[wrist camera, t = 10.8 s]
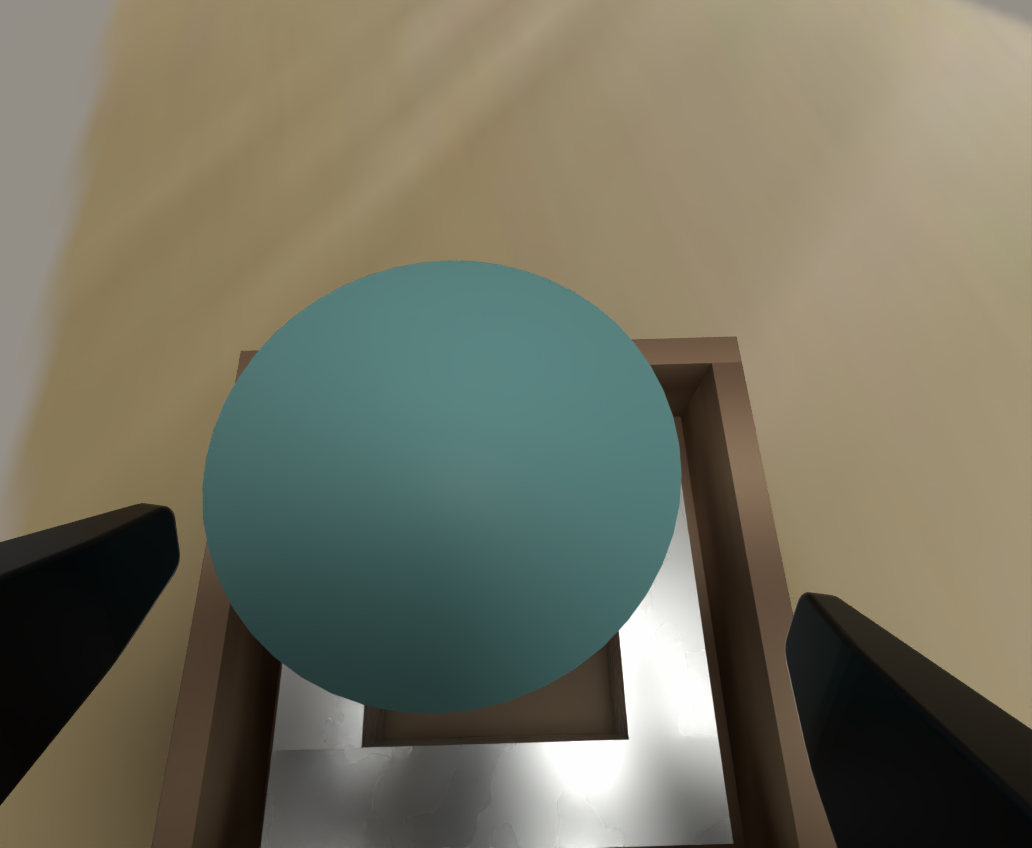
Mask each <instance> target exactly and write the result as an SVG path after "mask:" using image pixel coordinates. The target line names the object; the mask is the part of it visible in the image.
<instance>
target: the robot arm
mask: <svg viewBox="0 0 1032 848" xmlns="http://www.w3.org/2000/svg"><path fill="white" fill-rule="evenodd" d="M179 560H180V551H179V544H178V536H177V529H176V522H175V516H174V513H173V511H172V510H171V509H170V508H169V507H166V506H161V505H153V504H146V503H140V504H136V505H132V506H129V507H125V508H121V509H118V510H114V511H111V512H107V513H104V514H100V515H96V516H93V517H89V518H86V519H82V520H78V521H75V522H71V523H68V524H64V525H60V526H57V527H53V528H50V529H46V530H42V531H39V532H35V533H32V534H28V535H25V536H21V537H17V538H14V539H10V540H7V541H3V542H0V805H1V804H2V803H3V802H4V800H5V799H6V798H7V797H8V795H9V794H10V793H11V792H12V790H13V789H14V788H15V787H16V785H17V784H18V783H19V782H20V781H21V779H22V778H23V777H24V776H25V774H26V773H27V772H28V771H29V769H30V768H31V767H32V766H33V764H34V763H35V762H36V761H37V759H38V758H39V757H40V756H41V754H42V753H43V752H44V751H45V749H46V748H47V747H48V746H49V745H50V743H51V742H52V741H53V740H54V738H55V737H56V736H57V735H58V733H59V732H60V731H61V730H62V728H63V727H64V726H65V725H66V723H67V722H68V721H69V720H70V718H71V717H72V716H73V715H74V713H75V712H76V711H77V710H78V709H79V707H80V706H81V705H82V704H83V702H84V701H85V700H86V699H87V697H88V696H89V695H90V694H91V692H92V691H93V690H94V689H95V687H96V686H97V685H98V684H99V682H100V681H101V680H102V679H103V677H104V676H105V675H106V674H107V672H108V671H109V670H110V668H111V667H112V666H113V665H114V663H115V662H116V661H117V659H118V658H119V656H120V655H121V653H122V652H123V651H124V649H125V648H126V646H127V645H128V643H129V642H130V640H131V639H132V637H133V636H134V634H135V633H136V631H137V630H138V628H139V627H140V625H141V624H142V622H143V621H144V619H145V618H146V616H147V615H148V613H149V612H150V610H151V609H152V607H153V605H154V604H155V602H156V601H157V599H158V598H159V596H160V595H161V593H162V592H163V590H164V589H165V587H166V586H167V584H168V583H169V581H170V580H171V578H172V577H173V575H174V574H175V572H176V570H177V567H178V565H179ZM785 657H786V662H787V667H788V671H789V676H790V680H791V685H792V689H793V694H794V698H795V703H796V707H797V712H798V716H799V721H800V725H801V730H802V734H803V739H804V744H805V748H806V752H807V756H808V760H809V764H810V768H811V771H812V774H813V777H814V780H815V784H816V787H817V790H818V793H819V796H820V799H821V802H822V805H823V808H824V810H825V813H826V816H827V819H828V822H829V825H830V828H831V831H832V834H833V837H834V840H835V843H836V846H837V848H1032V729H1030V728H1029V727H1027V726H1026V725H1024V724H1023V723H1021V722H1020V721H1019V720H1017V719H1016V718H1014V717H1013V716H1011V715H1010V714H1008V713H1007V712H1005V711H1004V710H1002V709H1001V708H999V707H998V706H997V705H995V704H994V703H992V702H991V701H989V700H988V699H986V698H985V697H983V696H982V695H980V694H979V693H977V692H976V691H974V690H973V689H972V688H970V687H969V686H967V685H966V684H964V683H963V682H961V681H960V680H958V679H957V678H955V677H954V676H952V675H951V674H950V673H948V672H947V671H945V670H944V669H942V668H941V667H939V666H938V665H936V664H935V663H933V662H932V661H930V660H929V659H928V658H926V657H925V656H923V655H922V654H920V653H919V652H917V651H916V650H914V649H913V648H911V647H910V646H908V645H907V644H906V643H904V642H903V641H901V640H900V639H898V638H897V637H895V636H894V635H892V634H891V633H889V632H888V631H886V630H885V629H883V628H882V627H881V626H879V625H878V624H876V623H875V622H873V621H872V620H870V619H869V618H867V617H866V616H864V615H863V614H861V613H860V612H859V611H857V610H856V609H854V608H853V607H851V606H850V605H848V604H847V603H845V602H844V601H842V600H841V599H839V598H838V597H836V596H833V595H827V594H819V593H811V592H806V593H804V594H803V595H801V597H800V598H799V600H798V603H797V606H796V609H795V612H794V615H793V619H792V622H791V625H790V628H789V631H788V635H787V638H786V643H785Z"/></svg>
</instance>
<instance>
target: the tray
mask: <svg viewBox="0 0 1032 848" xmlns="http://www.w3.org/2000/svg"><path fill="white" fill-rule="evenodd" d="M632 341H633V342H634V343H635V344H636V346H637V347H638V349H639V350H640V352H641V353H642V354H643V356H644V357H645V359H646V360H647V361H648V363H649V364H650V366H651V367H652V369H653V371H654V373H655V375H656V377H657V379H658V381H659V383H660V385H661V386H662V388H663V390H664V393H665V396H666V398H667V401H668V404H669V407H670V409H671V412H672V415H673V418H674V423H675V427H676V432H677V437H678V441H679V448H680V461H681V490H680V505H679V509H678V514H677V519H676V524H675V529H674V534H673V537H672V540H671V542H670V545H669V548H668V551H667V554H666V556H665V559H664V562H663V565H662V567H661V569H660V570H659V572H658V574H657V576H656V578H655V580H654V582H653V584H652V586H651V588H650V589H649V591H648V593H647V595H646V596H645V598H644V599H643V600H642V602H641V603H640V605H639V606H638V607H637V609H636V610H635V612H634V613H633V614H632V616H631V617H630V618H629V620H628V621H627V622H626V623H625V624H624V626H623V627H622V628H621V629H620V630H619V631H618V632H617V633H616V634H615V635H614V636H613V637H612V638H611V639H610V640H609V641H608V642H607V643H606V644H605V645H604V646H603V647H602V648H601V649H600V650H598V651H597V652H596V653H595V654H593V655H592V656H591V657H590V658H588V659H587V660H586V661H584V662H583V663H582V664H581V665H579V666H578V667H577V668H576V669H574V670H572V671H571V672H569V673H567V674H565V675H564V676H562V677H560V678H559V679H557V680H555V681H553V682H552V683H550V684H548V685H547V686H545V687H543V688H540V689H538V690H536V691H533V692H531V693H528V694H526V695H523V696H521V697H518V698H516V699H513V700H511V701H508V702H504V703H500V704H496V705H492V706H488V707H484V708H480V709H476V710H469V711H459V712H450V713H440V714H430V713H407V712H397V711H392V710H386V709H381V708H376V707H371V706H365V705H363V704H360V703H357V702H354V701H351V700H348V699H346V698H343V697H340V696H337V695H334V694H331V693H330V692H328V691H326V690H324V689H322V688H320V687H318V686H317V685H315V684H313V683H311V682H309V681H307V680H305V679H303V678H302V677H300V676H299V675H297V674H296V673H295V672H293V671H292V670H291V669H289V668H288V667H287V666H285V665H284V664H283V663H281V662H280V661H279V660H277V659H276V658H275V657H274V656H273V655H272V654H271V653H270V652H269V651H268V650H267V649H266V648H265V647H264V646H263V645H262V644H261V643H260V642H259V641H258V640H257V639H256V638H255V637H254V636H253V635H252V634H251V633H250V631H249V630H248V628H247V627H246V626H245V624H244V623H243V621H242V620H241V619H240V617H239V616H238V614H237V613H236V612H235V610H234V609H233V607H232V606H231V604H230V602H229V600H228V598H227V596H226V594H225V592H224V590H223V588H222V586H221V584H220V582H219V580H218V577H217V574H216V571H215V568H214V565H213V562H212V559H211V556H210V552H209V549H208V544H207V542H206V548H205V554H204V559H203V565H202V570H201V576H200V581H199V587H198V592H197V598H196V604H195V609H194V615H193V620H192V626H191V631H190V637H189V642H188V648H187V654H186V659H185V665H184V670H183V676H182V681H181V687H180V692H179V698H178V704H177V709H176V715H175V720H174V726H173V731H172V737H171V742H170V748H169V754H168V759H167V765H166V770H165V776H164V781H163V787H162V792H161V798H160V804H159V809H158V815H157V820H156V826H155V831H154V837H153V842H152V848H837V846H836V843H835V840H834V837H833V834H832V831H831V828H830V825H829V822H828V819H827V816H826V813H825V810H824V808H823V805H822V802H821V799H820V796H819V793H818V790H817V787H816V784H815V780H814V777H813V774H812V771H811V768H810V764H809V760H808V756H807V752H806V748H805V744H804V739H803V734H802V730H801V725H800V721H799V716H798V712H797V707H796V703H795V698H794V694H793V689H792V685H791V680H790V676H789V671H788V667H787V662H786V657H785V643H786V638H787V635H788V631H789V628H790V625H791V622H792V619H793V612H792V607H791V602H790V598H789V593H788V588H787V583H786V578H785V573H784V568H783V563H782V558H781V553H780V548H779V543H778V539H777V534H776V529H775V524H774V519H773V514H772V509H771V504H770V499H769V494H768V489H767V484H766V480H765V475H764V470H763V465H762V460H761V455H760V450H759V445H758V440H757V435H756V430H755V425H754V420H753V416H752V411H751V406H750V401H749V396H748V391H747V386H746V381H745V376H744V371H743V366H742V361H741V357H740V352H739V347H738V342H737V337H705V338H670V339H636V340H632ZM257 352H258V351H241V354H240V359H239V365H238V370H237V376H236V381H237V379H238V378H239V376H240V375H241V374H242V372H243V371H244V369H245V368H246V367H247V365H248V364H249V362H250V361H251V360H252V358H253V357H254V356H255V354H256V353H257ZM236 381H235V383H236Z"/></svg>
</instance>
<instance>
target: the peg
mask: <svg viewBox="0 0 1032 848" xmlns="http://www.w3.org/2000/svg"><path fill="white" fill-rule="evenodd" d="M680 490H681V461H680V448H679V441H678V437H677V432H676V427H675V423H674V418H673V415H672V412H671V409H670V407H669V404H668V401H667V398H666V396H665V393H664V390H663V388H662V386H661V385H660V383H659V381H658V379H657V377H656V375H655V373H654V371H653V369H652V367H651V366H650V364H649V363H648V361H647V360H646V359H645V357H644V356H643V354H642V353H641V352H640V350H639V349H638V347H637V346H636V344H635V343H634V342H633V341H632V340H631V339H630V338H629V337H628V336H627V334H626V333H625V332H624V331H623V330H622V329H621V328H620V327H619V326H618V325H617V324H616V323H615V322H614V321H613V320H612V319H610V318H609V317H608V316H607V315H606V314H604V313H603V312H602V311H601V310H600V309H599V308H597V307H596V306H595V305H593V304H592V303H590V302H589V301H587V300H586V299H584V298H583V297H581V296H579V295H578V294H576V293H575V292H573V291H571V290H569V289H567V288H565V287H563V286H561V285H559V284H557V283H555V282H553V281H551V280H549V279H546V278H543V277H541V276H538V275H535V274H532V273H530V272H527V271H523V270H519V269H515V268H511V267H507V266H503V265H498V264H490V263H483V262H475V261H437V262H425V263H417V264H412V265H406V266H401V267H396V268H392V269H388V270H385V271H382V272H378V273H375V274H372V275H368V276H366V277H363V278H361V279H358V280H356V281H354V282H351V283H349V284H346V285H344V286H342V287H340V288H338V289H336V290H335V291H333V292H331V293H329V294H327V295H325V296H324V297H322V298H320V299H318V300H317V301H315V302H314V303H312V304H311V305H310V306H308V307H307V308H305V309H304V310H302V311H301V312H299V313H298V314H297V315H295V316H294V317H293V318H292V319H291V320H289V321H288V322H287V323H286V324H285V325H284V326H283V327H281V328H280V329H279V330H278V331H277V332H276V333H275V334H274V335H273V336H272V337H271V338H270V339H269V340H268V341H267V342H266V343H265V344H264V346H263V347H262V348H261V349H260V350H259V351H258V352H257V353H256V354H255V356H254V357H253V358H252V360H251V361H250V362H249V364H248V365H247V367H246V368H245V369H244V371H243V372H242V374H241V375H240V376H239V378H238V379H237V381H236V383H235V385H234V387H233V388H232V390H231V392H230V394H229V396H228V397H227V399H226V401H225V403H224V405H223V408H222V410H221V413H220V415H219V418H218V420H217V423H216V425H215V428H214V430H213V434H212V438H211V442H210V446H209V450H208V453H207V457H206V464H205V472H204V481H203V520H204V526H205V532H206V538H207V544H208V549H209V552H210V556H211V559H212V562H213V565H214V568H215V571H216V574H217V577H218V580H219V582H220V584H221V586H222V588H223V590H224V592H225V594H226V596H227V598H228V600H229V602H230V604H231V606H232V607H233V609H234V610H235V612H236V613H237V614H238V616H239V617H240V619H241V620H242V621H243V623H244V624H245V626H246V627H247V628H248V630H249V631H250V633H251V634H252V635H253V636H254V637H255V638H256V639H257V640H258V641H259V642H260V643H261V644H262V645H263V646H264V647H265V648H266V649H267V650H268V651H269V652H270V653H271V654H272V655H273V656H274V657H275V658H276V659H277V660H279V661H280V662H281V663H283V664H284V665H285V666H287V667H288V668H289V669H291V670H292V671H293V672H295V673H296V674H297V675H299V676H300V677H302V678H303V679H305V680H307V681H309V682H311V683H313V684H315V685H317V686H318V687H320V688H322V689H324V690H326V691H328V692H330V693H331V694H334V695H337V696H340V697H343V698H346V699H348V700H351V701H354V702H357V703H360V704H363V705H365V706H371V707H376V708H381V709H386V710H392V711H397V712H407V713H430V714H440V713H450V712H459V711H469V710H476V709H480V708H484V707H488V706H492V705H496V704H500V703H504V702H508V701H511V700H513V699H516V698H518V697H521V696H523V695H526V694H528V693H531V692H533V691H536V690H538V689H540V688H543V687H545V686H547V685H548V684H550V683H552V682H553V681H555V680H557V679H559V678H560V677H562V676H564V675H565V674H567V673H569V672H571V671H572V670H574V669H576V668H577V667H578V666H579V665H581V664H582V663H583V662H584V661H586V660H587V659H588V658H590V657H591V656H592V655H593V654H595V653H596V652H597V651H598V650H600V649H601V648H602V647H603V646H604V645H605V644H606V643H607V642H608V641H609V640H610V639H611V638H612V637H613V636H614V635H615V634H616V633H617V632H618V631H619V630H620V629H621V628H622V627H623V626H624V624H625V623H626V622H627V621H628V620H629V618H630V617H631V616H632V614H633V613H634V612H635V610H636V609H637V607H638V606H639V605H640V603H641V602H642V600H643V599H644V598H645V596H646V595H647V593H648V591H649V589H650V588H651V586H652V584H653V582H654V580H655V578H656V576H657V574H658V572H659V570H660V569H661V567H662V565H663V562H664V559H665V556H666V554H667V551H668V548H669V545H670V542H671V540H672V537H673V534H674V529H675V524H676V519H677V514H678V509H679V505H680Z"/></svg>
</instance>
